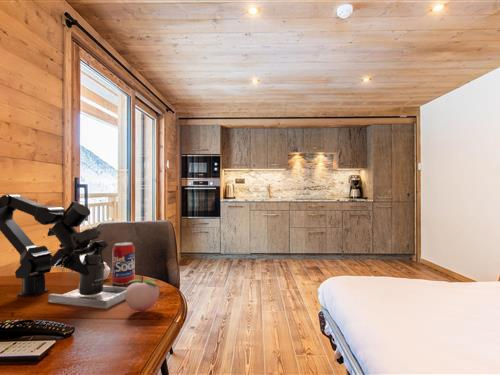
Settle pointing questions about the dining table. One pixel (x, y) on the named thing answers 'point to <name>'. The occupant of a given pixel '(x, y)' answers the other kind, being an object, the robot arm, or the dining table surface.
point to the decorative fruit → (141, 294)
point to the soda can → (123, 263)
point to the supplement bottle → (92, 276)
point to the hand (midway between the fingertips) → (95, 271)
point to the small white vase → (106, 271)
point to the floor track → (91, 297)
